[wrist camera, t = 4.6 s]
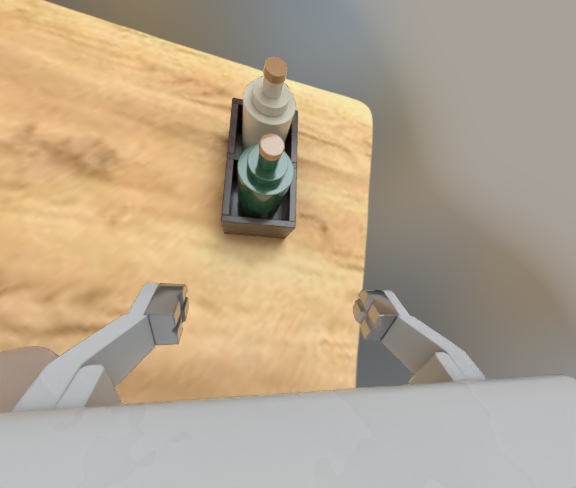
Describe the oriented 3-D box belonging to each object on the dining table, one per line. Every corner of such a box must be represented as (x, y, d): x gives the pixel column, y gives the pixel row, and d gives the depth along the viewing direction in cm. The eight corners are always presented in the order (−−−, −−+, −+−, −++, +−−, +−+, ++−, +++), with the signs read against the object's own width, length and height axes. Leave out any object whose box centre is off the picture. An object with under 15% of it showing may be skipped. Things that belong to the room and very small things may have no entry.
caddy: (285, 238, 32) (295, 227, 26) (224, 233, 30) (220, 221, 25) (288, 138, 35) (298, 110, 30) (233, 128, 33) (232, 97, 28)
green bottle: (229, 209, 30) (222, 147, 17) (252, 179, 32) (262, 101, 19) (263, 231, 31) (283, 189, 17) (284, 201, 32) (316, 140, 19)
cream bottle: (233, 157, 32) (230, 65, 19) (255, 131, 33) (266, 29, 20) (266, 180, 32) (286, 105, 19) (286, 153, 34) (317, 66, 21)
